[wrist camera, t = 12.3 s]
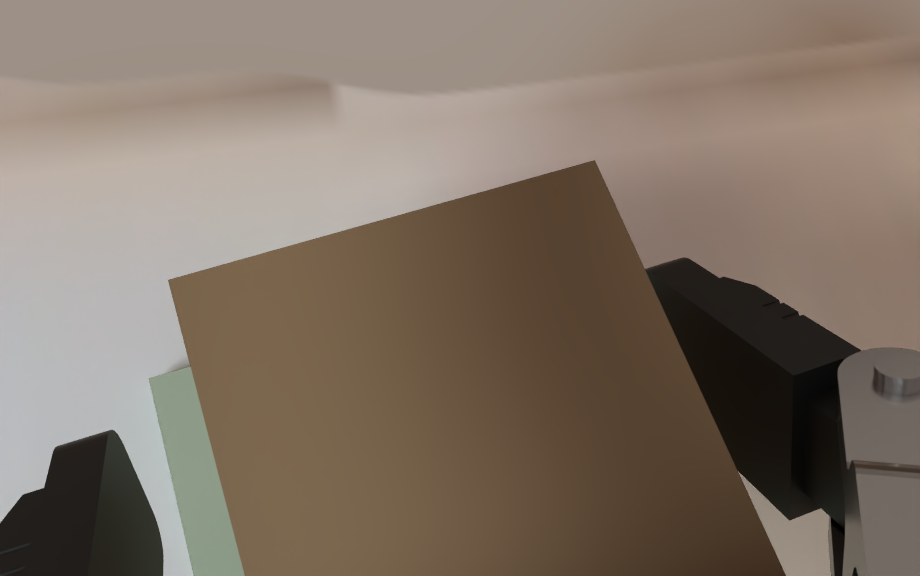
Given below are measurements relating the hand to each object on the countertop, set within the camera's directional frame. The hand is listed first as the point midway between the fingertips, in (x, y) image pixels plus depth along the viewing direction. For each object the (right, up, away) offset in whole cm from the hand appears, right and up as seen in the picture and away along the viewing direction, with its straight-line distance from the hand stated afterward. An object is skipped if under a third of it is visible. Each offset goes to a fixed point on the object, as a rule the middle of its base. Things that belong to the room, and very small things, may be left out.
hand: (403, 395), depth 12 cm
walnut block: (0, -3, +5) cm, 6 cm away
